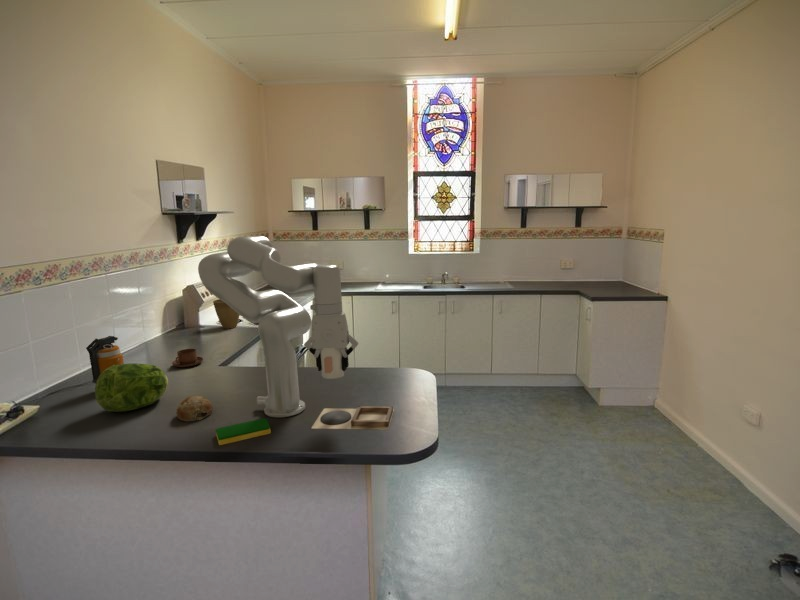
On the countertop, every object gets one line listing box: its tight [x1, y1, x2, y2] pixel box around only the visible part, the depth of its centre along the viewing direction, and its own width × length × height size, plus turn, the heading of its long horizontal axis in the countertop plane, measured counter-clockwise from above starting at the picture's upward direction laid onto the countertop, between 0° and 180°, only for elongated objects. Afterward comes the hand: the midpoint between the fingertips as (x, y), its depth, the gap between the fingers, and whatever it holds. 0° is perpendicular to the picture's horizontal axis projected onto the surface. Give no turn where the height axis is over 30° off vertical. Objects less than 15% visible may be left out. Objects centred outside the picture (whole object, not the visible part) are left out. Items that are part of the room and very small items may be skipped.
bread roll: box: [175, 395, 213, 422], centre depth 147 cm, size 10×10×8 cm
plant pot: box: [212, 298, 240, 329], centre depth 269 cm, size 15×15×16 cm
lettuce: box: [94, 362, 169, 413], centre depth 156 cm, size 16×21×15 cm
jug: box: [320, 348, 345, 380], centre depth 135 cm, size 9×6×9 cm
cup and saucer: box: [171, 348, 204, 368], centre depth 201 cm, size 12×12×6 cm
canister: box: [85, 335, 125, 384], centre depth 171 cm, size 9×11×20 cm
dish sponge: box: [215, 417, 272, 446], centre depth 133 cm, size 7×14×2 cm, turn 117°
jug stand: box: [310, 405, 395, 431], centre depth 139 cm, size 22×14×2 cm, turn 84°
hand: (332, 369), depth 137 cm, fingers closed on jug, 6 cm apart
